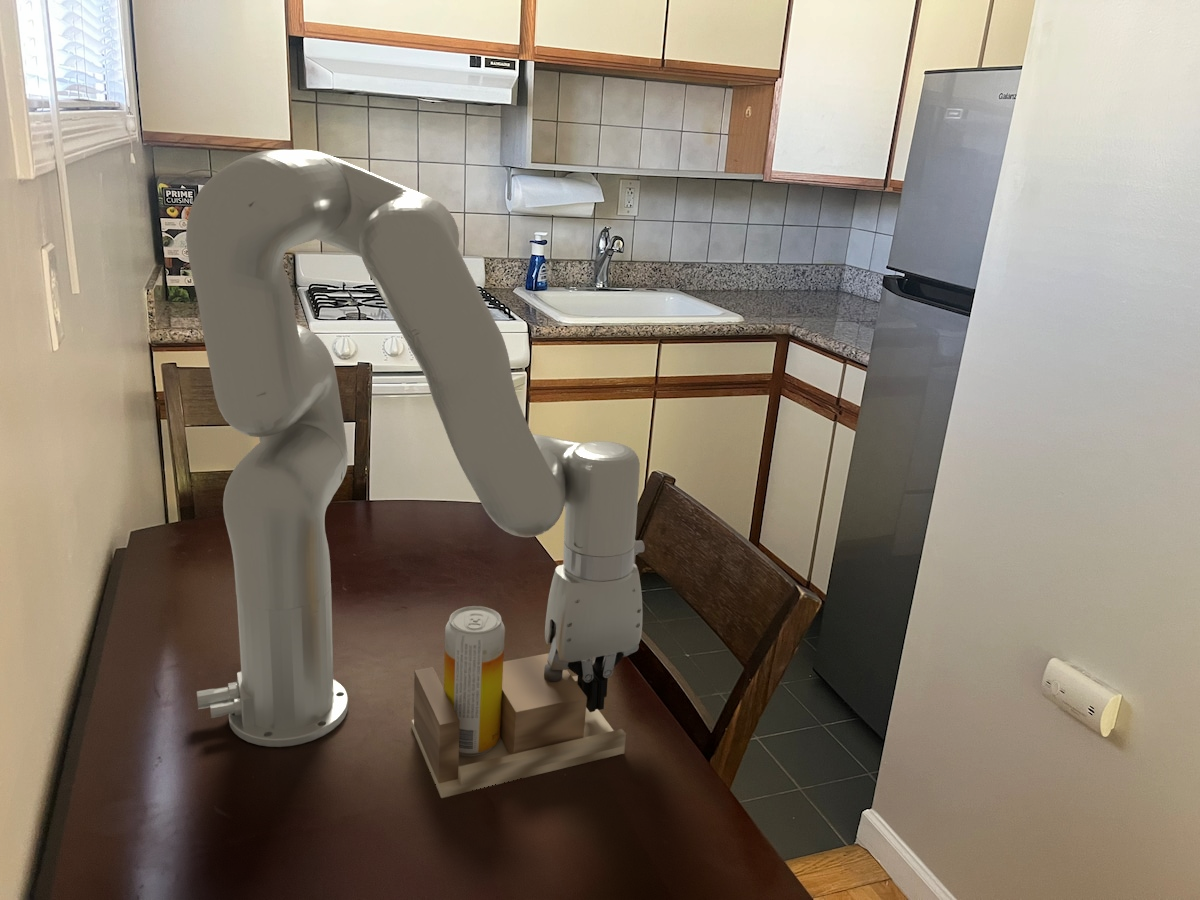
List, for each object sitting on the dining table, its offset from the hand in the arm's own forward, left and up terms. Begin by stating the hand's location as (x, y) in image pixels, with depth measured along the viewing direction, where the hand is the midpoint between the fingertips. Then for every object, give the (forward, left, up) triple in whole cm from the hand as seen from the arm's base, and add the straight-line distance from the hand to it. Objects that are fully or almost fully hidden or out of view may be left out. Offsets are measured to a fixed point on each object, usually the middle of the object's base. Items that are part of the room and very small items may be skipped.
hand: (591, 703), depth 101 cm
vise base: (-9, 0, -3) cm, 9 cm away
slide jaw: (-7, 0, -2) cm, 7 cm away
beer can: (-14, +1, -2) cm, 14 cm away
